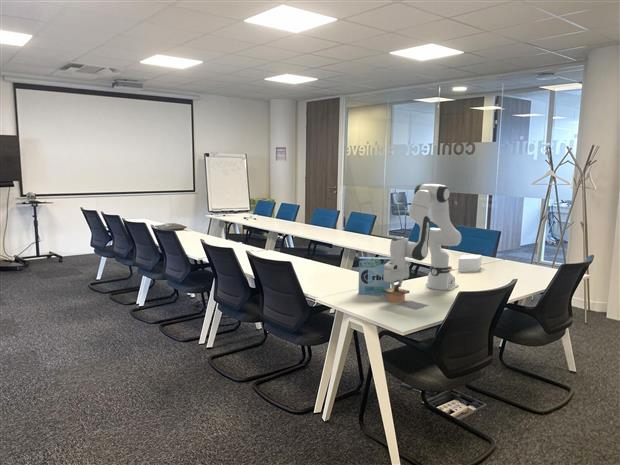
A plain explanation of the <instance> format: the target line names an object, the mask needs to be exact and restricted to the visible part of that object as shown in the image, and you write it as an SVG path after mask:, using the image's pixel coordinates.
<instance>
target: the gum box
mask: <svg viewBox="0 0 620 465" xmlns="http://www.w3.org/2000/svg"><path fill="white" fill-rule="evenodd" d="M389 261H390V257H376V256H375V257H374V256H373V257H371V256H359V257H358V295H366V296H367V295H369V296H386V297H387V293H384V292H383V290H386V289H390V288H391V284H390V282H389V283H388V282H385V281H384V279H383V277H384V270H385V268H384V265H385V264H386V263H388V262H389Z"/></svg>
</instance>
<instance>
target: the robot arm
mask: <svg viewBox="0 0 620 465" xmlns="http://www.w3.org/2000/svg"><path fill="white" fill-rule="evenodd" d="M413 193H414V194H413V198H412V201H411V204H410V206H409V210H408V216H409V218H410V219H411V221H412V222H414V223H416V224H417V225H418V226H419V234H418V241H417V242H414V241H410V240H407V239H406V238H405V237H404V236H397V235H396V236H394V237H392V238H391V240H390V245H389V254H390V256H389V258H390V261H389V262H388V263H386V264H385V265H384V268H385V270H384V277H383V279H384V281H385V282H388V283H389V282H390V284H391V287H390V288H392V289H394V288H395V285H399V288H401V287H402V284H403V281H404V280H405V279H409V277H410V267H409V264H408V263H407V262H406V258H408V259H413V260H416V261H420V262H421V261H423V260H425V259H426V258H427V256H428V253H430V266H429V273H428V275H427V282H426V283H425V285H426V287H427V288H428V289H431V290H441V291H443V290H444V291H446V290H447V291H452V290H454V289H456V288H458V287H459V283H456V277H455V276H454V275H453V274H452V273H451V271H452V269H453V267H452V266H450V265H449V261H450V260H449V259H450V256H449V254H448V252H447V251H445V250H444V249H443V248H442V246H444V247H457V246H459V245H460V243H461V242H462V234H461V232H460V231H459V230H457V229H456V228H455V227H454V225H453V223H452V222H451V218H450V217H451V216H450V208H449V206H450V204H449V199H450V195H451V191H450V188H449V187H448V186H447V185H444V184H437V183H419V184H417V185H416V187H415V188H414V192H413ZM429 211H430V218H429ZM431 221H432V223H433V224H435V225H437V227H431ZM450 270H451V271H450ZM396 282H398V283H397V284H395V283H396Z"/></svg>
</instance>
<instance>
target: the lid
mask: <svg viewBox="0 0 620 465" xmlns="http://www.w3.org/2000/svg"><path fill="white" fill-rule="evenodd" d="M394 285H395V288H394V289H392V288H391V287H390V289H386V290H383V292H384V293H388V294H392V295H396V296H400V295H404V294H405V295H406V294H410V292H411V291H410V290H408V289H404V288H401V287H399V285H397V284H394Z"/></svg>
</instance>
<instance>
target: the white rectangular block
mask: <svg viewBox="0 0 620 465" xmlns="http://www.w3.org/2000/svg"><path fill="white" fill-rule="evenodd" d="M457 266H458V269H457V271H458V273H459V272H461V273H462V272H463V273H464V272H478V271H480V269H481V266H482V255H481V254H469V255H467V254H466V255H463V254H462V255H461V256H460V257H459V258H458V265H457Z"/></svg>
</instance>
